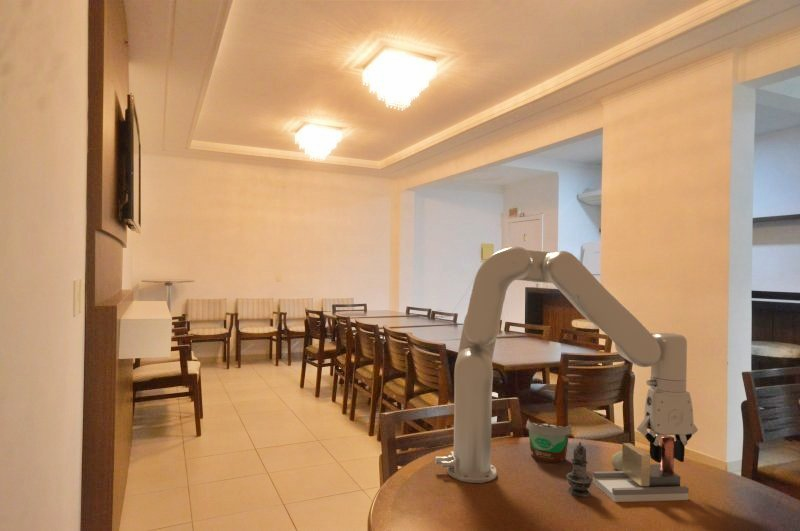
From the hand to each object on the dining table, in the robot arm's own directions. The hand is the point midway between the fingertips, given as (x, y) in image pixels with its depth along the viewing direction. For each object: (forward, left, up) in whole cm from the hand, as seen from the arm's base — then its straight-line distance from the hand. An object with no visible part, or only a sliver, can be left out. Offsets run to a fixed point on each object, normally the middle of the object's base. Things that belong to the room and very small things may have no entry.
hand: (666, 459), depth 117 cm
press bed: (-7, 0, -7) cm, 10 cm away
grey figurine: (-22, 0, -8) cm, 23 cm away
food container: (-22, +19, -8) cm, 30 cm away
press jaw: (-4, 0, -6) cm, 7 cm away
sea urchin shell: (-2, +12, -8) cm, 14 cm away
